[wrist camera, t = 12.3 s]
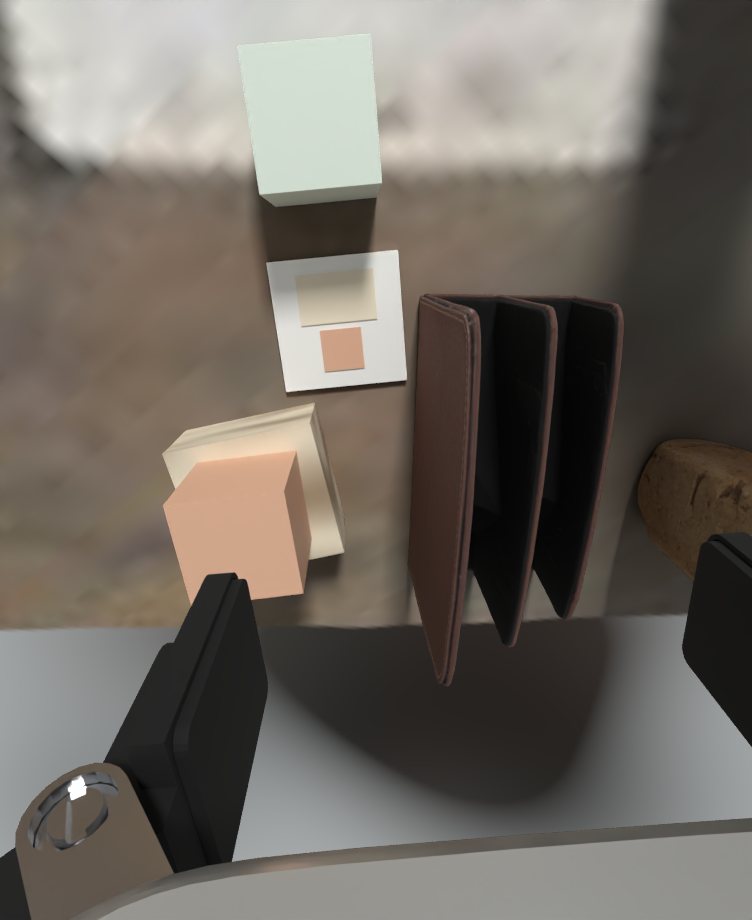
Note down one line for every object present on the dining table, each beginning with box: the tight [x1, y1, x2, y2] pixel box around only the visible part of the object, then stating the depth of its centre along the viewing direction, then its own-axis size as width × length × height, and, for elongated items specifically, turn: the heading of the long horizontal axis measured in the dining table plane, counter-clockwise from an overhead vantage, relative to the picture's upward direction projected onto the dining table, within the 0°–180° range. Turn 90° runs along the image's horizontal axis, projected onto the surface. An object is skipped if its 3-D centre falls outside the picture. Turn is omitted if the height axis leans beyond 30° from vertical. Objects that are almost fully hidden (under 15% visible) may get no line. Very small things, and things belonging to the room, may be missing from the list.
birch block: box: [162, 403, 345, 560], centre depth 35 cm, size 9×9×5 cm
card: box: [266, 250, 407, 392], centre depth 33 cm, size 8×8×1 cm
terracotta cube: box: [163, 451, 312, 606], centre depth 30 cm, size 6×6×6 cm
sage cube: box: [237, 33, 382, 207], centre depth 27 cm, size 6×6×6 cm
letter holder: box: [408, 294, 624, 686], centre depth 30 cm, size 10×20×14 cm, turn 179°
